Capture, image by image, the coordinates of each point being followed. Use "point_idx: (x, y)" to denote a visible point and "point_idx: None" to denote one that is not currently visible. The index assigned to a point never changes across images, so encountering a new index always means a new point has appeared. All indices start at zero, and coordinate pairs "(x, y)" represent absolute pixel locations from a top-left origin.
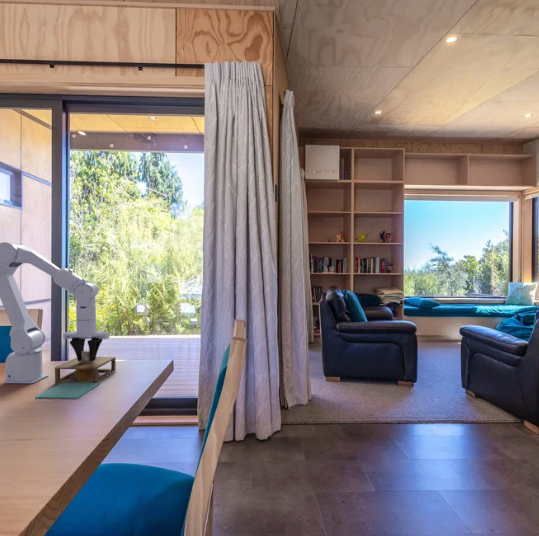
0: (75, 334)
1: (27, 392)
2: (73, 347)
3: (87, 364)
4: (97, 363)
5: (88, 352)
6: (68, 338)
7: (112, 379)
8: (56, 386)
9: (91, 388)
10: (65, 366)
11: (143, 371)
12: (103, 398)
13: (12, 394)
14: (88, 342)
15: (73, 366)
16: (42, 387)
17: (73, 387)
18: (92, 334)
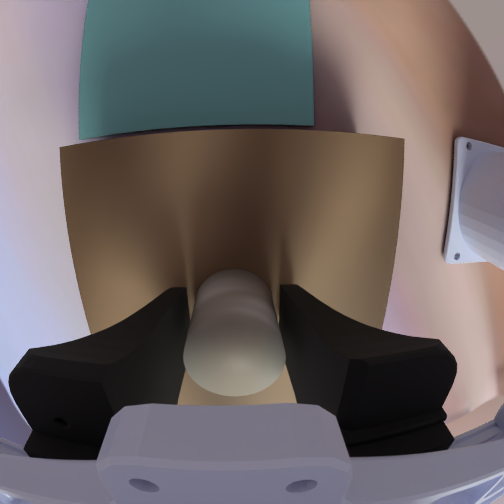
0: (423, 491)
1: (397, 16)
2: (373, 329)
3: (178, 232)
4: (116, 265)
5: (192, 333)
6: (485, 424)
7: (65, 225)
8: (301, 58)
9: (81, 54)
10: (340, 164)
11: (24, 343)
12: (10, 2)
13: (436, 8)
14: (95, 361)
15: (269, 166)
16: (380, 75)
17: (184, 45)
18: (10, 483)
